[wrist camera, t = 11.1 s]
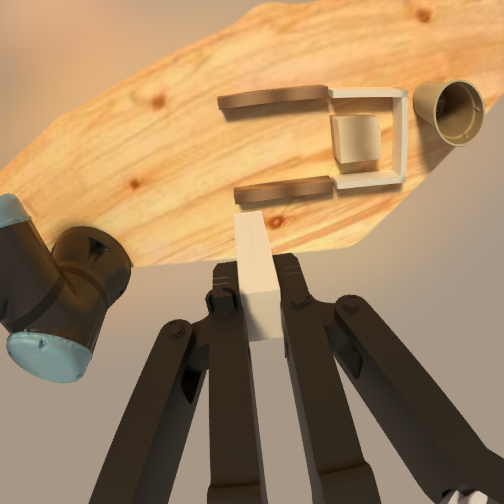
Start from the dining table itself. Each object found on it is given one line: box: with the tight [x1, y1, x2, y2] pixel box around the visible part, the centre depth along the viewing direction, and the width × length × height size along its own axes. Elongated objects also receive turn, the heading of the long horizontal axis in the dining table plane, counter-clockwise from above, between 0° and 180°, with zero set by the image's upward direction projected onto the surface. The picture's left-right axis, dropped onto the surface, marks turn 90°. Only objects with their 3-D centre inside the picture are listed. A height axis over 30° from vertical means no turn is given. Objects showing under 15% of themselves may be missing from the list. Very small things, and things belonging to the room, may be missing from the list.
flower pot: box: [413, 79, 485, 147], centre depth 36 cm, size 9×9×9 cm
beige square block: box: [330, 112, 381, 164], centre depth 41 cm, size 6×6×4 cm
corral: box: [328, 87, 408, 189], centre depth 41 cm, size 11×14×3 cm
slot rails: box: [217, 85, 333, 204], centre depth 42 cm, size 14×15×2 cm
